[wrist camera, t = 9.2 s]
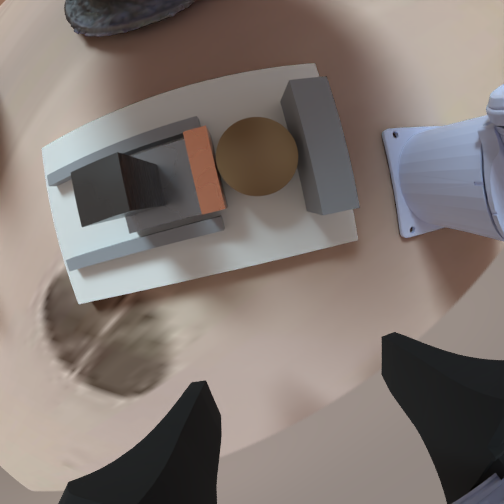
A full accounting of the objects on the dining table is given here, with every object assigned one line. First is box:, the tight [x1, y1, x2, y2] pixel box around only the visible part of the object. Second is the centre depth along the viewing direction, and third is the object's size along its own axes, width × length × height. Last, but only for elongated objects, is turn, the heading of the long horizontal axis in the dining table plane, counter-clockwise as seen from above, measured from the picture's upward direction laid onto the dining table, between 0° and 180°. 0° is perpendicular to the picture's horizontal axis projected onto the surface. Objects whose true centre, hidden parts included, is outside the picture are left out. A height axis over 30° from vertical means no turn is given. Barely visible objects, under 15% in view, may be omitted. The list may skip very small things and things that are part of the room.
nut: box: [216, 117, 298, 196], centre depth 14 cm, size 4×4×3 cm
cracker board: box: [42, 63, 360, 304], centre depth 15 cm, size 20×12×5 cm, turn 103°
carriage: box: [71, 125, 228, 234], centre depth 13 cm, size 6×4×6 cm
